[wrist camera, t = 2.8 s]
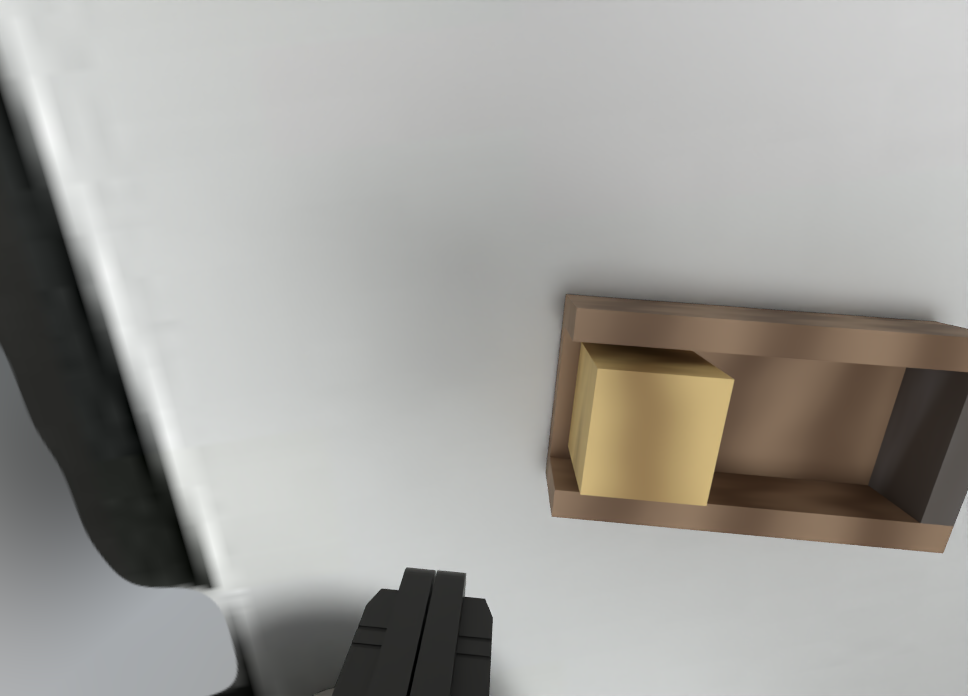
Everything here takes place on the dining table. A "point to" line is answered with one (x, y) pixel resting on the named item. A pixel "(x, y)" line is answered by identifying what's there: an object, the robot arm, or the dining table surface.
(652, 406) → the block
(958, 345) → the chute
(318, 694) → the bowl
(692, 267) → the dining table surface
